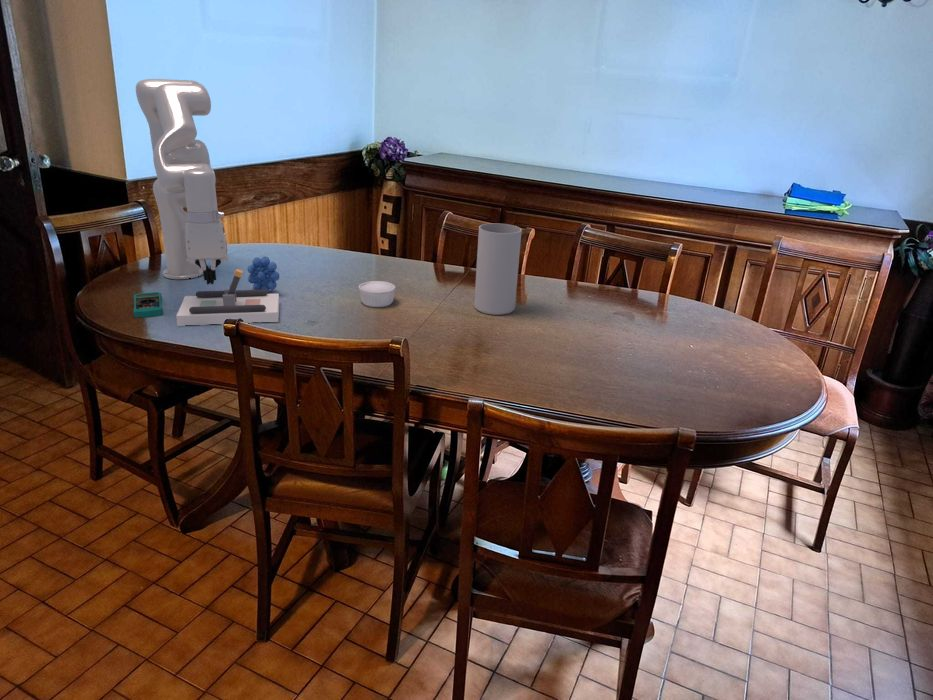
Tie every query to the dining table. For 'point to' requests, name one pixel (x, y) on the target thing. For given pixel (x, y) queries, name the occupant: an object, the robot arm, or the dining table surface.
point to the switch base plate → (218, 318)
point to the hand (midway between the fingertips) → (210, 282)
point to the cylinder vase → (497, 268)
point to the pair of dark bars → (229, 308)
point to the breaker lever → (235, 281)
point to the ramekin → (377, 293)
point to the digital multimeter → (147, 304)
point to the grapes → (263, 274)
